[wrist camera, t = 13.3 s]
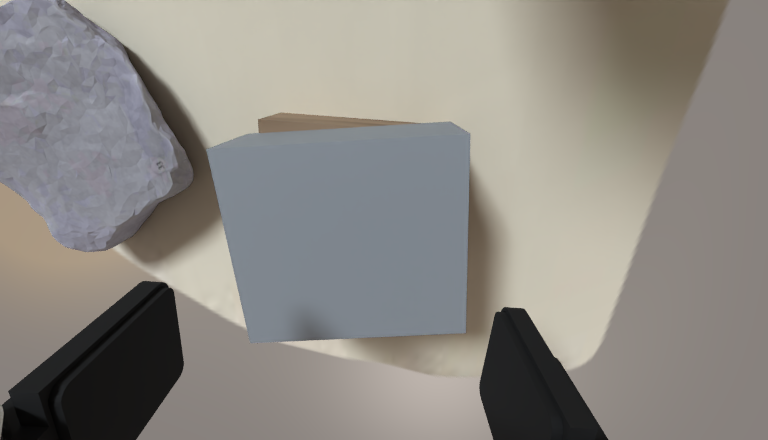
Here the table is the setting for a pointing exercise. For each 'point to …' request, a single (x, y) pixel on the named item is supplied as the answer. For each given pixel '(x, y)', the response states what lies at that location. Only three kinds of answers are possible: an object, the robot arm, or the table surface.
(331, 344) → the table surface
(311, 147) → the tower top
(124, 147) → the stone block
